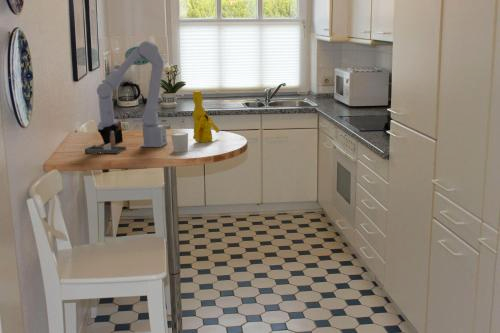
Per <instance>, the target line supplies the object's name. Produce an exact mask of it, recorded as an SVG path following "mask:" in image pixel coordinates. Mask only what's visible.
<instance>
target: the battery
mask: <svg viewBox="0 0 500 333" xmlns="http://www.w3.org/2000/svg"><path fill="white" fill-rule="evenodd" d="M115 125H119V128H118V130H117V133H116V140H115V144H118V143H117V142H119V143H123V141H124V139H123V128H122V122H121V121H118V124H115Z"/></svg>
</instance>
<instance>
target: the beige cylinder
mask: <svg viewBox="0 0 500 333" xmlns="http://www.w3.org/2000/svg"><path fill="white" fill-rule="evenodd" d="M171 141H172V148H173V152H176V153H184V152H187V151H189V149H188V148H189V133H188V132H175V133H171Z"/></svg>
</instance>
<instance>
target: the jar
mask: <svg viewBox="0 0 500 333" xmlns="http://www.w3.org/2000/svg"><path fill="white" fill-rule="evenodd" d="M110 143H111V146H116V143H115V136H114V131H112V130H111V133H110Z"/></svg>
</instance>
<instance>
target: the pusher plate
mask: <svg viewBox="0 0 500 333" xmlns="http://www.w3.org/2000/svg"><path fill="white" fill-rule="evenodd" d="M102 146H103V148H104V149H105V150H111V143H108V144H106V145H105V144H104V145H102Z"/></svg>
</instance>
